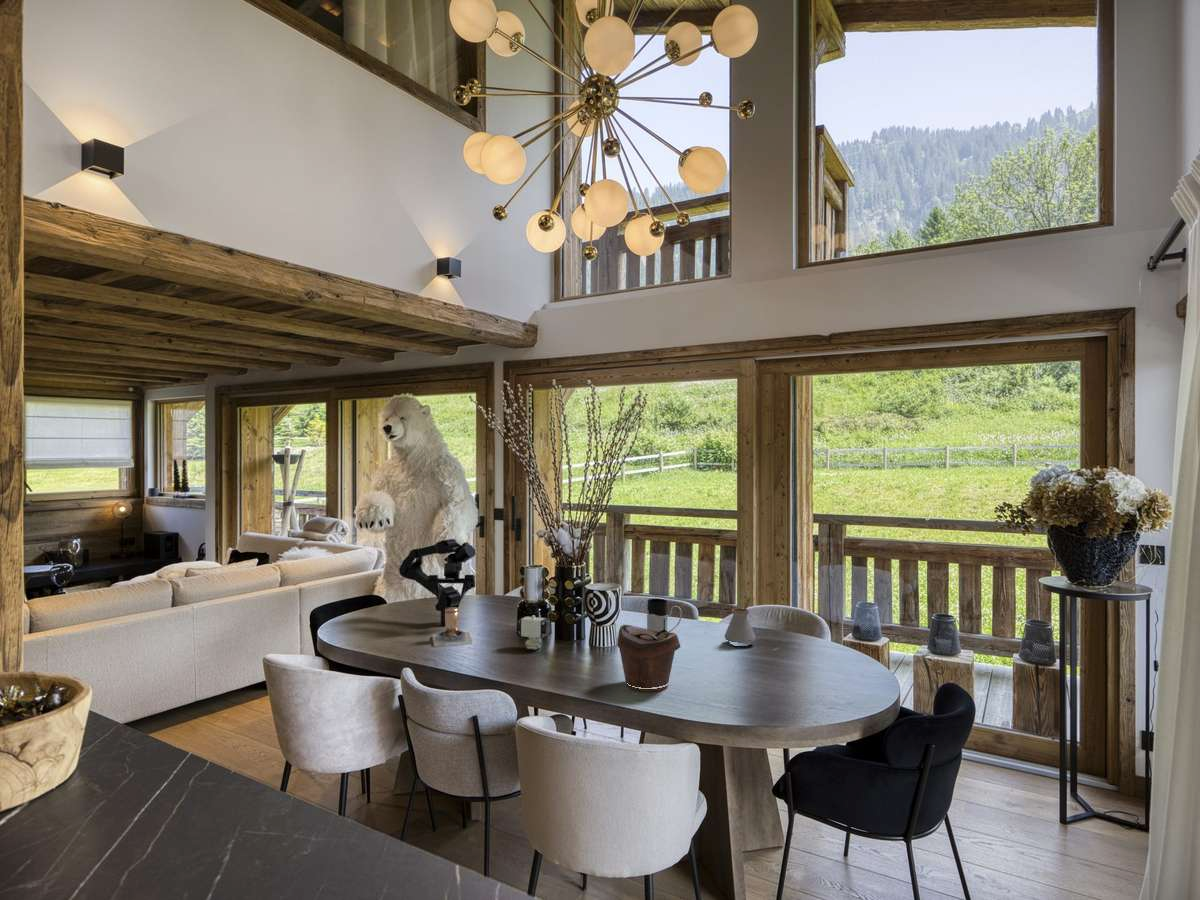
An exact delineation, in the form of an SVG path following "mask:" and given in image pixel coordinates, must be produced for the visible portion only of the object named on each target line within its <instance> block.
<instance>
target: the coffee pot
mask: <svg viewBox="0 0 1200 900" xmlns="http://www.w3.org/2000/svg"><path fill="white" fill-rule="evenodd" d="M750 600H751V601H750ZM751 602H753V600H752V598H751V597H748V598H747V599H746V602H745V603H744V606H743V608H740V607H739V608H738V607H737V608H732V609H731V612H732V617H731V619H730V622H729V625H728V627H727V628H726V631H725V634H724V639H725V640H728V641H731V642H738V643H749V642H753V641H754V642H755V641H756V638H757V637H756V634H755V633H754V630H753V627H752V625H751V623H750V620H749V618H748V615H749V613H750V610H749V609H748V606H749V603H751ZM754 642H753V643H754Z"/></svg>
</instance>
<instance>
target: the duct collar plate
mask: <svg viewBox="0 0 1200 900" xmlns="http://www.w3.org/2000/svg"><path fill="white" fill-rule="evenodd" d="M431 637H432V642H433V646H434V647H445V646H457V645H471V644H473V638H472V637H471V634H470V631H462V630H459V635H457V636H445V631H441V632H440V633H432V635H431Z"/></svg>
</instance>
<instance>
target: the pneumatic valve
mask: <svg viewBox="0 0 1200 900" xmlns="http://www.w3.org/2000/svg"><path fill="white" fill-rule="evenodd" d="M515 627H516V631H517V632H518V634H519V637H527V638H528V639H526V641H525V647H526V649H527V650H535V651H536V650H537V649H539V648H540V647H541V646H542V642H541V639H543V638H544V637H545V638H546V636H548V635H549V634H550V633H551V623H550V622H549V621H548V618H547V617H536V615H531V616H523V617H521V618H520V619H518V621H517V623H516V626H515Z"/></svg>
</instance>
